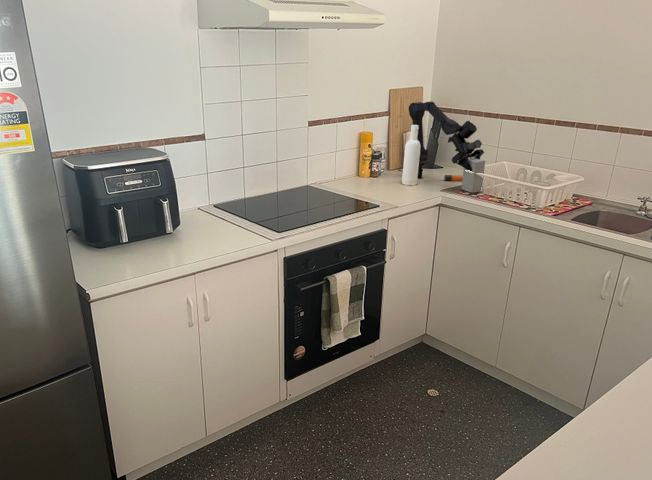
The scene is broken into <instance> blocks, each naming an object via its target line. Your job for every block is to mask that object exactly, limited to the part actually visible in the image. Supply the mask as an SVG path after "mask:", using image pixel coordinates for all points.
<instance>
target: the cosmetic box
mask: <svg viewBox="0 0 652 480" xmlns="http://www.w3.org/2000/svg"><path fill="white" fill-rule="evenodd" d="M468 162H469V164H470V166H471V168H472V172H474V173H472V174H471V173H469V172H466V171H465V170H467V169H465V168H464V167H463V170H462V171H463V172H462V176H463V179H462V181H461V190H463V191H466V192H468V193H472V194H474V193H482V191H480V190H481V187H482V188H483V185H482V183H483V184H484V177H483V178H482V177H481V176H479V175H477V174H476V173H483V174H484V175H485V168H486V167H485V166H486V160H483V159H480V160H479V159H476V158H471V159H470V158H468Z"/></svg>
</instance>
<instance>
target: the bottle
mask: <svg viewBox="0 0 652 480" xmlns="http://www.w3.org/2000/svg"><path fill="white" fill-rule="evenodd" d="M418 129H419V128H418V125H413V124H411V126H410V134H409V135H410V136H409V139H408V140H407V141H406V142H405V145H404V154H403V165H402V176H401V184H402V185H405V186H415V185H417V183H418V179H419V178H417V177H418V167H419V158H420V148H421V146H420V142H419V141H418V140H417V136H418Z"/></svg>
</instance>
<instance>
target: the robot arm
mask: <svg viewBox="0 0 652 480" xmlns="http://www.w3.org/2000/svg"><path fill="white" fill-rule="evenodd" d="M426 111H427V112H428V114H430V115H431V116H432V117H433V118H434V120H436V121H437V122H438V123H439V125H440V129H441V130H442V131H443V133H444V134H445V135H447V136H449V135H450V136H449V137H448V139H447V143H452V144H453V145H454V147H455V149H454V150H455V152H456V154H455V155H453V157H451V162H452V164H453V165H454V164H456V165H458V166H460V167H462V168H463V169H464V168H465V169H467V170H470V171H472V168H471V166H470V164H469V162H468V159H471V158H476V159H479V160H481V157H482V156H483V154H485V151H484V150H483V148H481V146H482V145H483V143H482V141H481V140H480V139H476V140H474V141H472V142H469V141H467V140H468V139H470V137H471V136H473V135H474V134H475V133H476V132H477V130H478V129H477V128H478V127H477V126H476V125H475V124H474V123H473V122H471V121H470V120H466V121H465V122H464V123H463V124H462V125H460V124H459V122H457V121H455V120H454V119H452V118H450V117H448V116H447V114H446V113H444V112H443V111H442V110H441V108H439V107H438V106H437V104H436V103H435V102H434V101H426V102H421V101H417V102H411V103H410V104H409V105H408V115H409V117H410V118H411V120H412V125H418V128H419V129H418V136H417V140H418V141H419V142H420V146H421V148H420V158H419V167H418V177H417V178H418V179H422V177H423V171H424V170H423V166H425V164H426V162H427V161H428V158H429V150H428V149H426V148H425V146H424V131H423V130H424V129H423V118H424V117H425V113H426ZM451 135H452V136H451Z"/></svg>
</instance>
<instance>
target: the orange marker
mask: <svg viewBox="0 0 652 480" xmlns="http://www.w3.org/2000/svg"><path fill="white" fill-rule="evenodd" d="M443 179H444V181H445V182H448V181H449V182H462V179H463V175H460V174H459V175H453V174H445V175H444V177H443Z"/></svg>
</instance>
